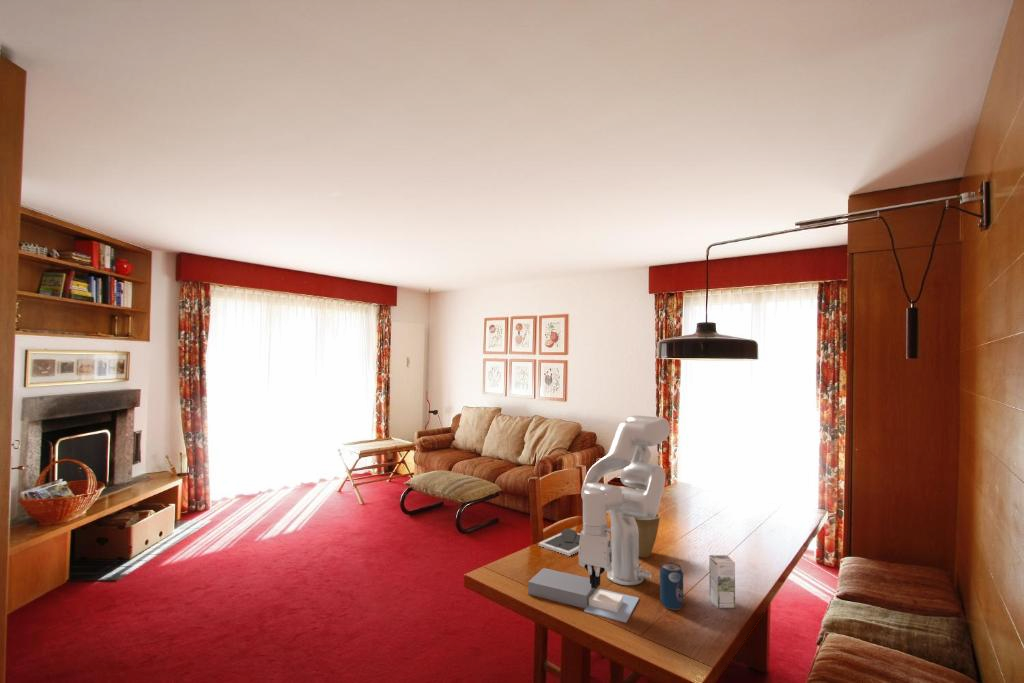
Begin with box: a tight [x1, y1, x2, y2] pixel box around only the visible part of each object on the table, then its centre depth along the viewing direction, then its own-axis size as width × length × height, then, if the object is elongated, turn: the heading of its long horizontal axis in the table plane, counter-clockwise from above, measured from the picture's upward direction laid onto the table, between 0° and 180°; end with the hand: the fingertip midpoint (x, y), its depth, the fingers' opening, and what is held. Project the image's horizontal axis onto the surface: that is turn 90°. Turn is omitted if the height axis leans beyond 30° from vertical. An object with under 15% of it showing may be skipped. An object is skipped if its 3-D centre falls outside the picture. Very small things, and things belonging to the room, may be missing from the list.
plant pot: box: [634, 512, 661, 559], centre depth 190 cm, size 15×15×16 cm
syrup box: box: [708, 554, 736, 609], centre depth 150 cm, size 6×6×14 cm
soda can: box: [659, 562, 685, 611], centre depth 149 cm, size 7×7×12 cm
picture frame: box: [538, 528, 581, 557], centre depth 200 cm, size 16×3×21 cm
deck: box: [527, 567, 599, 610], centre depth 157 cm, size 20×12×4 cm, turn 62°
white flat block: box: [589, 589, 623, 612], centre depth 149 cm, size 9×7×2 cm
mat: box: [583, 588, 640, 624], centre depth 149 cm, size 13×16×1 cm
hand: (595, 586), depth 152 cm, fingers closed
